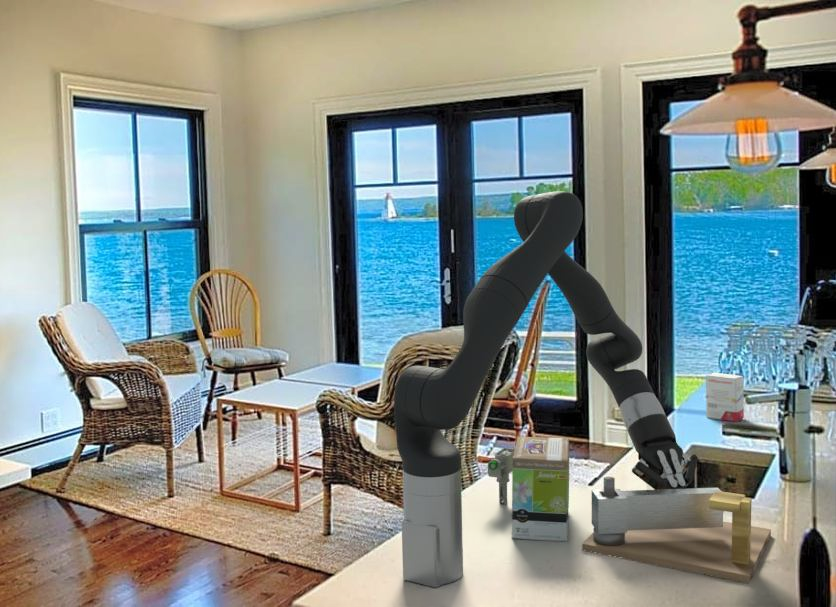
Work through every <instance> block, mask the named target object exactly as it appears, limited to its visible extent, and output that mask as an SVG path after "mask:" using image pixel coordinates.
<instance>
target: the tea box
mask: <svg viewBox="0 0 836 607" xmlns="http://www.w3.org/2000/svg"><path fill="white" fill-rule="evenodd" d="M514 449H515V451H514V455H513V468H512V472H511V474H512V475H511V476H512V481H511V483H512V484H511V486H512V487H511V491H512V492H511V506H512V507H511V538H512V539H518V540H519V539H520V540H530V541H531V540H533V541H534V540H535V541H551V542H552V541H554V542H567V540H568V534H569V533H568V531H569V530H568V528H569V506H570V501H569V500H570V499H569V498H570V440H569V438H567V437H565V438H564V437H541V436H540V437H539V436H517V438H516V444H515V447H514Z"/></svg>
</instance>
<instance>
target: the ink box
mask: <svg viewBox="0 0 836 607" xmlns="http://www.w3.org/2000/svg"><path fill="white" fill-rule="evenodd" d="M744 388H745V387H744V375H738V374H737V375H736V374H729V373H728V374H727V373H722V372H713V373H709V374H706V375H705V400H706V401H705V402H706V404H705V406H706V408H705V409H706V411H705V412H706V418H707V419H714V420H722V421H727V422H728V421H729V422H734V423H735V422H736V423H737V422H739V421H741V420H743V419H744V418H745V414H744V413H745V412H744V409H745V408H744V405H745V404H744Z"/></svg>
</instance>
